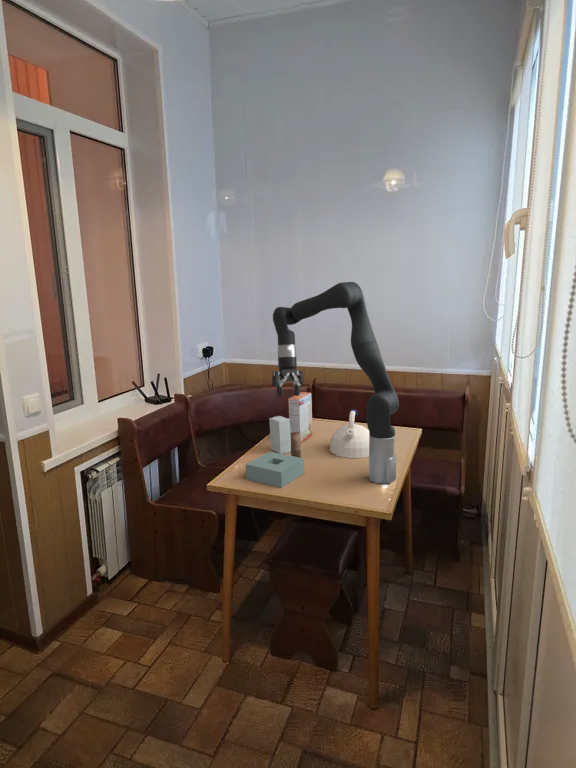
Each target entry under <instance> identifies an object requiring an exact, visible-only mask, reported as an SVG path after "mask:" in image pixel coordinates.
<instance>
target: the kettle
mask: <svg viewBox="0 0 576 768" xmlns="http://www.w3.org/2000/svg"><path fill="white" fill-rule="evenodd" d="M358 415H359V414H358V411H357V409H351V410H350V412H349V418H348V423H347V424H343V425H342V426H340V427H339V428H337V429H336V431H334V433H332V436H331V438H330V441H329V442H330V445H329V452H330V453H331V454H333V455H334V454H335V455H334V456H337V457H340V456H341V457H340V458H345V457H347V458H346V459H363V458H366V457H367V458H369V429H368V427H365V426H363V425H361V424H357V423H356V422H355V417H356V416H358ZM362 457H363V458H362Z"/></svg>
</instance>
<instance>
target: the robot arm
mask: <svg viewBox="0 0 576 768" xmlns="http://www.w3.org/2000/svg"><path fill="white" fill-rule="evenodd" d="M330 309H331V310H332V309H347V312H348V314H349V317H350V321H351V332H350V346H351V349H352V352H353V355H354V359H355V361H356V363H357V365H358V367H359V368H360V369H361V370H362V372H364V374H365V375H366V376H367V377H368V379H369V381H370V382H371V385H372V388H373V391H374V394H372V395H371V396H370V397H369V398H368V400H367V403H366V424H367V429H368V430H369V456H368V480H369V481H370V482H373V483H375V484H381V485H382V484H383V485H384V484H387V485H388V484H389V485H390V484H392V483H393V482H394V481H395V480H396V479H397V477H396V475H397V454H395V443H396V441H395V440H396V439H395V438H396V437H395V436H396V429H395V427H394V426H392V425H391V416H392V415H394V414H395V413H396V412H397V411H398V409H399V406H400V402H399V401H400V399H399V398H398V395H397V393H396V391H395V388H394V386H393V384H392V381H391V380H390V377H389V374H388V372H387V369H386V365H385V361H384V360H383V358H382V354H381V351H380V348H379V347H380V346H379V344H378V342H377V341H378V340H377V339H376V336H375V334H374V331H373V330H374V329H373V327H372V323H371V320H370V318H369V314H368V311H367V310H368V309H367V305H366V302H365V297H364V294H363V290H362V288H361V286H360V285H359V284H358V283H357V282H355V281H345V282H339V283H336V284H335V285H333V286H331V287H329V288H328V289H326V290H325V291H323V292H321V293H320V294H318V295H315V296H313V297H308V298H306V299H302V300H301V301H298V302H296V303H294V304H293V305H292V306H291V307H286V306H278V307H276V308H275V309H274V310H273V313H272V321H273V324H274V328H275V332H276V336H277V363H278V364H277V366H278V370H273V371H272V374H271V377H272V378H271V380H272V381H271V383H272V384H271V385H272V386H273V387H275V388H276V395H277V397H278V398H281V397H283V385H284V384H285V383H286V382H290V383H292V384H293V385H294V388H293V389H294V396H299V394H300V392H301V389H300V387H301V386H302V385H304V384H305V382H304V372H303V370H302V369H298V370H297V367H298V366H297V348H296V337H295V336H296V335H295V332H294V331H293V330H290V329H289V327H288V326H292V325H295V324H298V323H299V322H301V321H302V320H304V319H305V320H306V319H308V318H310V317H313V316H316V315H317V314H320V313H321V312H323V311H327V310H330Z"/></svg>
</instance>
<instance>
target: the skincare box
mask: <svg viewBox="0 0 576 768" xmlns="http://www.w3.org/2000/svg"><path fill="white" fill-rule="evenodd" d="M268 422H269V433H270V434H269V435H270V449H271V451H272V452H274V453H279V454H284V455H285V454H288V453H291V436H290V421H289V417H288V418H287V417H285V416H281V415H276V416H273V417H269V421H268Z"/></svg>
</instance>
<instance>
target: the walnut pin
mask: <svg viewBox="0 0 576 768" xmlns="http://www.w3.org/2000/svg"><path fill="white" fill-rule="evenodd" d="M301 450H302V446H301V433H300V432H291V452H290V456H294V457H299V458H302V451H301Z"/></svg>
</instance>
